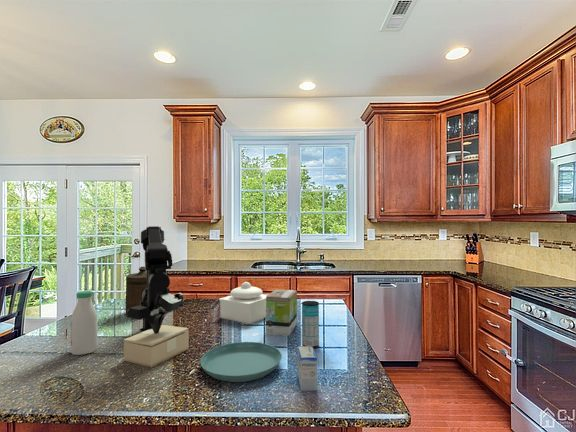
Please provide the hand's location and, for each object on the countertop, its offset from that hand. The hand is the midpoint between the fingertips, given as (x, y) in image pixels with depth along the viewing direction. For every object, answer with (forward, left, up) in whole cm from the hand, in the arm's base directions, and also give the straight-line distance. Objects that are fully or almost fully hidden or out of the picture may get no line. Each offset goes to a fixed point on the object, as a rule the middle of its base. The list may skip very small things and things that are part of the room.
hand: (156, 333), depth 111 cm
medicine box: (+52, +2, -7) cm, 53 cm away
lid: (0, 0, -1) cm, 1 cm away
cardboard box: (0, 0, -7) cm, 7 cm away
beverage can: (+43, +28, -7) cm, 52 cm away
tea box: (+26, +40, -7) cm, 49 cm away
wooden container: (-46, +35, -7) cm, 58 cm away
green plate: (+30, +4, -8) cm, 32 cm away
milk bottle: (-25, -8, -7) cm, 27 cm away
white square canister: (+4, +50, -7) cm, 51 cm away
